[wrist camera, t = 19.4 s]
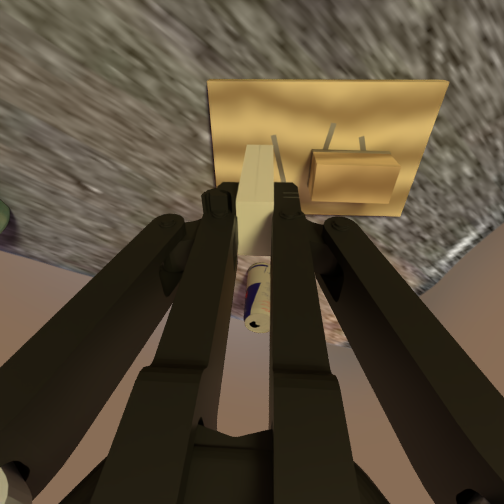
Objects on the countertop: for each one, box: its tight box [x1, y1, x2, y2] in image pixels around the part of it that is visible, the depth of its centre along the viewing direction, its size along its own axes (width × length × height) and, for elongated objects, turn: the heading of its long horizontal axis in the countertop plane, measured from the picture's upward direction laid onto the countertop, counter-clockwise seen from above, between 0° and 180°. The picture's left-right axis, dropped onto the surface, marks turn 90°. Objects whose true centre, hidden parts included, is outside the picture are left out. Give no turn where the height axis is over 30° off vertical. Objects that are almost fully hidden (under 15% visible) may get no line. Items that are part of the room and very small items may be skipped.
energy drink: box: [244, 263, 270, 333], centre depth 51 cm, size 5×5×12 cm
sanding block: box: [307, 149, 401, 204], centre depth 39 cm, size 5×10×5 cm, turn 89°
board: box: [207, 79, 449, 216], centre depth 40 cm, size 18×28×2 cm, turn 90°
